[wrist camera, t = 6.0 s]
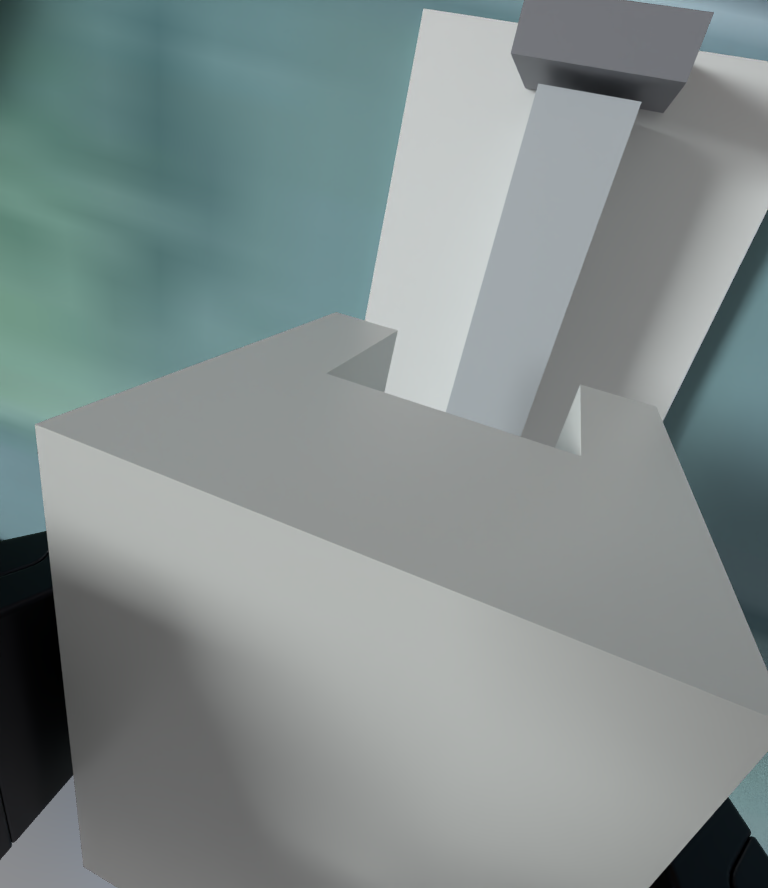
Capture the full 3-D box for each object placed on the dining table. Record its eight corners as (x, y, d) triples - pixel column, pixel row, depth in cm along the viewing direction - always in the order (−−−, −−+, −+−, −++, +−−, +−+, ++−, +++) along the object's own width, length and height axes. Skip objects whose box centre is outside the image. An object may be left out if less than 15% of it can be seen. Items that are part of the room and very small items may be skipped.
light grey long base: (533, 673, 20) (524, 758, 17) (320, 583, 22) (276, 645, 19) (823, 79, 11) (917, 23, 8) (429, 17, 13) (382, -48, 10)
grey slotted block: (521, 698, 11) (472, 1104, 6) (289, 598, 13) (82, 867, 7) (662, 409, 8) (808, 733, 3) (335, 311, 9) (34, 424, 4)
